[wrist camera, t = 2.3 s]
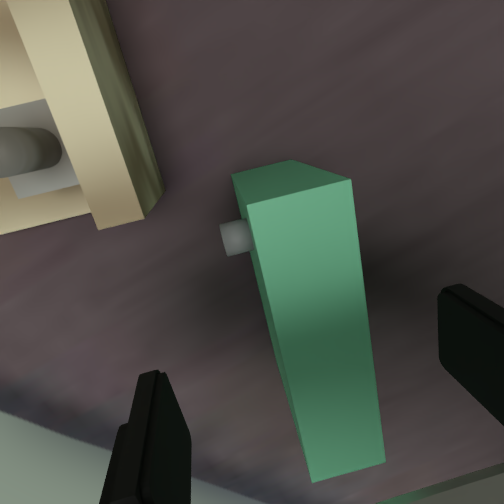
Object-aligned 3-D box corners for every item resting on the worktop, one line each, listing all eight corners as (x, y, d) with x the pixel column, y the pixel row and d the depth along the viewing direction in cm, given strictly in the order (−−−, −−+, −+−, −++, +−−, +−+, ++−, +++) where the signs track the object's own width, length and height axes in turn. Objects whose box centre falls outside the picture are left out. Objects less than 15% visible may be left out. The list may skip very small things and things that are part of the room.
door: (325, 348, 22) (385, 462, 14) (261, 365, 22) (288, 489, 14) (290, 159, 18) (351, 178, 10) (211, 178, 18) (213, 213, 10)
